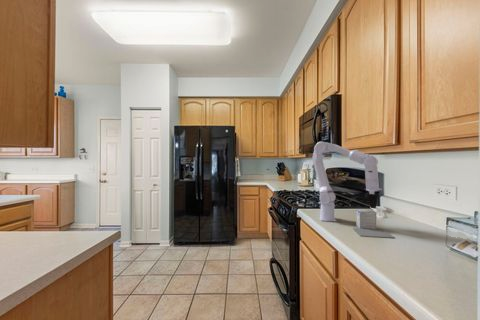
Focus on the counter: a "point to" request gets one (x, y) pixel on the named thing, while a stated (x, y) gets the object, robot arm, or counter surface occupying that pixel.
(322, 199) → the robot arm
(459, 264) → the counter surface
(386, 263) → the counter surface
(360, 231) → the mat
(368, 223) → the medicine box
